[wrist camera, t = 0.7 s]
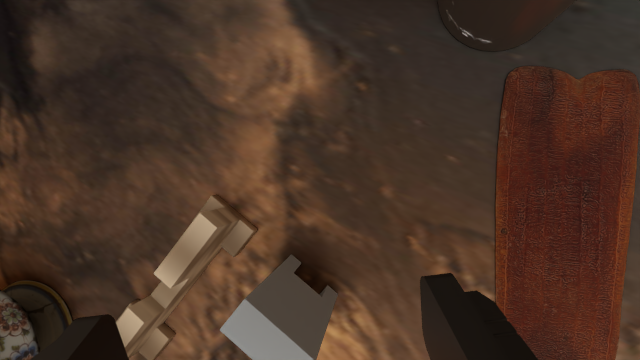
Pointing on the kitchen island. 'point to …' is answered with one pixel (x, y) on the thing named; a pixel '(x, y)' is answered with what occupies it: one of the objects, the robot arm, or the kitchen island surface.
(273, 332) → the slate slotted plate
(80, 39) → the kitchen island surface
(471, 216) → the kitchen island surface
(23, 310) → the apothecary jar
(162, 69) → the kitchen island surface
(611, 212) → the wooden tablet
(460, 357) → the robot arm
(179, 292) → the birch slotted board
